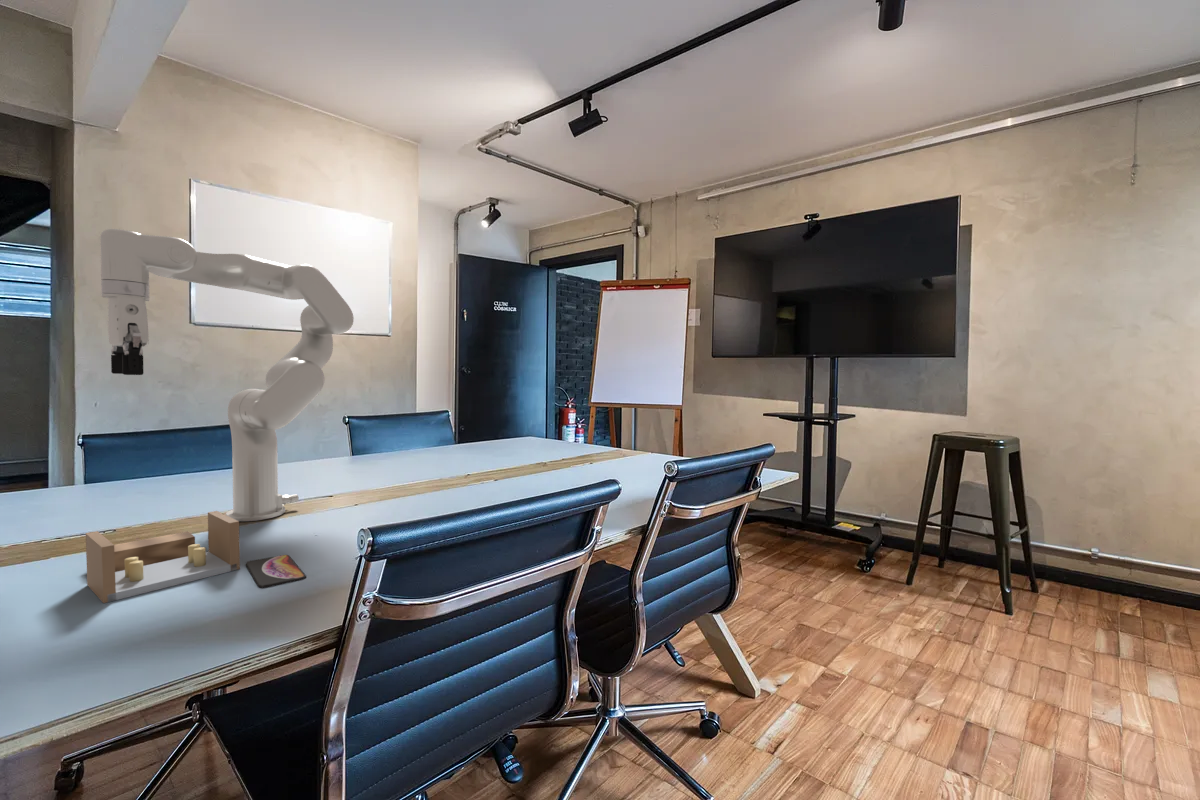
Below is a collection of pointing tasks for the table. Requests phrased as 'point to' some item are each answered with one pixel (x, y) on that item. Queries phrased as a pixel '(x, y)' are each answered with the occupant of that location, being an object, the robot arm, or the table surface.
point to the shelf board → (154, 549)
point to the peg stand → (162, 563)
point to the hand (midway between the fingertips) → (127, 374)
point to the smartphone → (274, 571)
